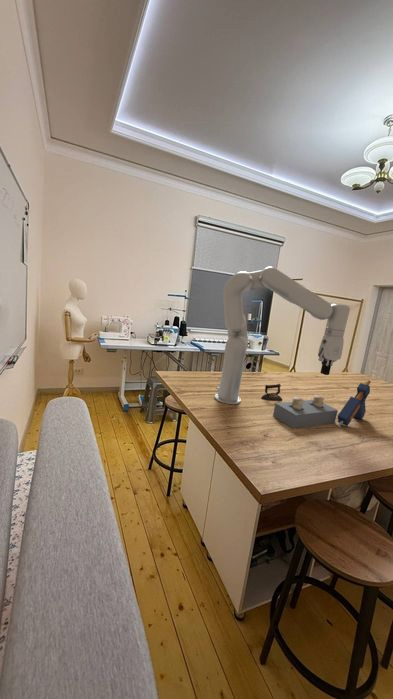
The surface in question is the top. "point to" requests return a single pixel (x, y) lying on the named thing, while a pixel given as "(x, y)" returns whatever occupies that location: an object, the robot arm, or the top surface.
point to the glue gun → (355, 405)
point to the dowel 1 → (297, 403)
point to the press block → (304, 414)
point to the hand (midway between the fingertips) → (324, 373)
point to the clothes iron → (272, 395)
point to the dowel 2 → (317, 401)
